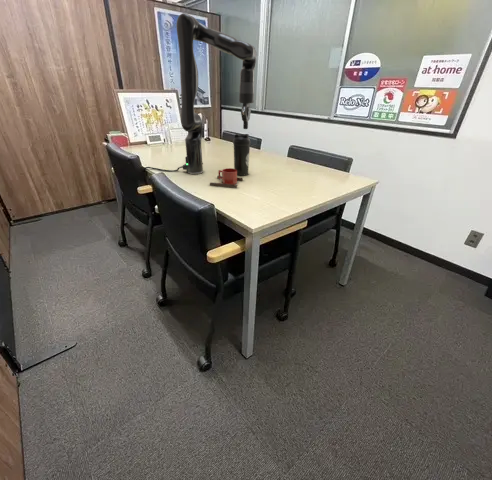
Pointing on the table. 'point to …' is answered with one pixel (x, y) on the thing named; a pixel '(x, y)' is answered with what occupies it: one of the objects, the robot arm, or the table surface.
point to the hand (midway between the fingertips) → (245, 128)
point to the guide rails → (225, 184)
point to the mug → (228, 176)
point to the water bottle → (241, 154)
